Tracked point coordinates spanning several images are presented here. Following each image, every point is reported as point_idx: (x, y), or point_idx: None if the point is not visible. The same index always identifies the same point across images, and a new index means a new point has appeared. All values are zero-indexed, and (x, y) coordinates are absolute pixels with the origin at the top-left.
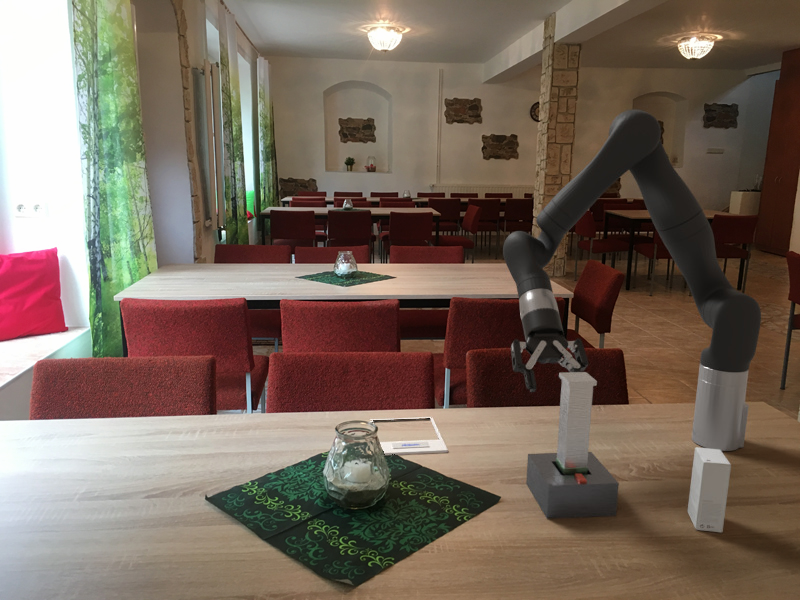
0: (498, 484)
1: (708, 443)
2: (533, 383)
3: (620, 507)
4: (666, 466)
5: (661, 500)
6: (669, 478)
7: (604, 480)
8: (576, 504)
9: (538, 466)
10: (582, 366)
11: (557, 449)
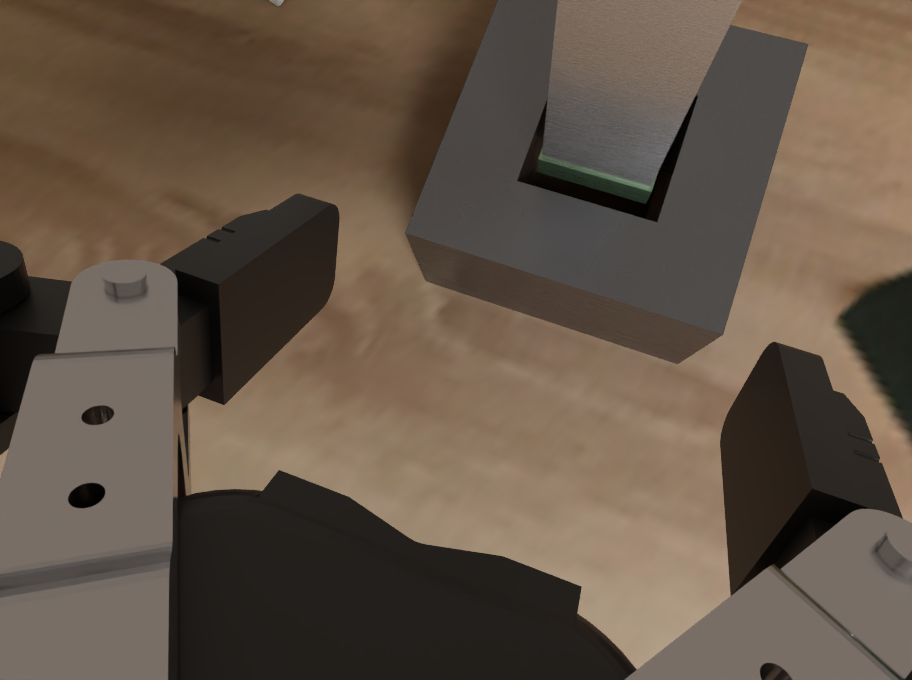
0: None
1: None
2: (816, 368)
3: (455, 99)
4: (60, 262)
5: (292, 86)
6: (135, 188)
7: (549, 3)
8: None
9: (751, 201)
10: (51, 286)
11: (661, 162)
